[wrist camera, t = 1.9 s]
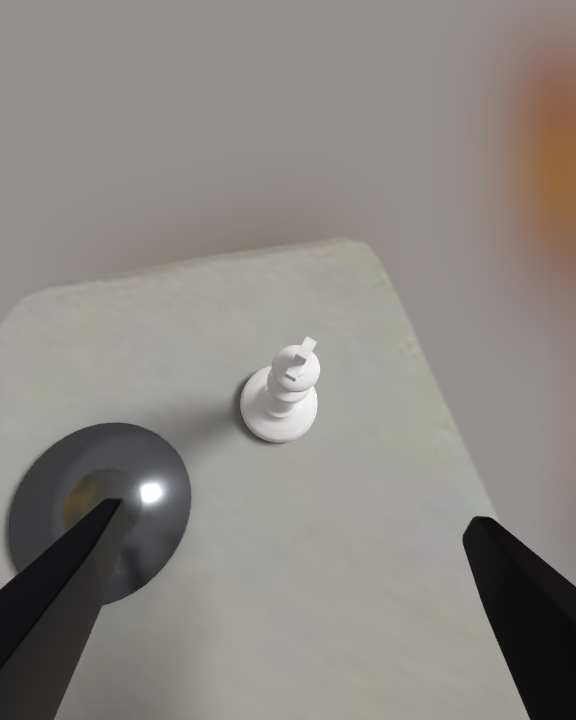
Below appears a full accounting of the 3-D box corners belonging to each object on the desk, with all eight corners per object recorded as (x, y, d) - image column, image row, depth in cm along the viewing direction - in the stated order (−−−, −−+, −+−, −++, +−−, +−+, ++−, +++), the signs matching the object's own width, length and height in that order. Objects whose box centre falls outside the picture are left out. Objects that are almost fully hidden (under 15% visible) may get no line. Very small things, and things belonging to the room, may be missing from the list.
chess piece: (225, 417, 20) (205, 375, 11) (264, 353, 22) (277, 267, 12) (294, 457, 20) (335, 450, 11) (329, 389, 22) (392, 330, 12)
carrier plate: (191, 588, 17) (190, 592, 17) (3, 616, 16) (-6, 621, 15) (190, 418, 20) (189, 416, 19) (29, 430, 19) (22, 429, 18)
